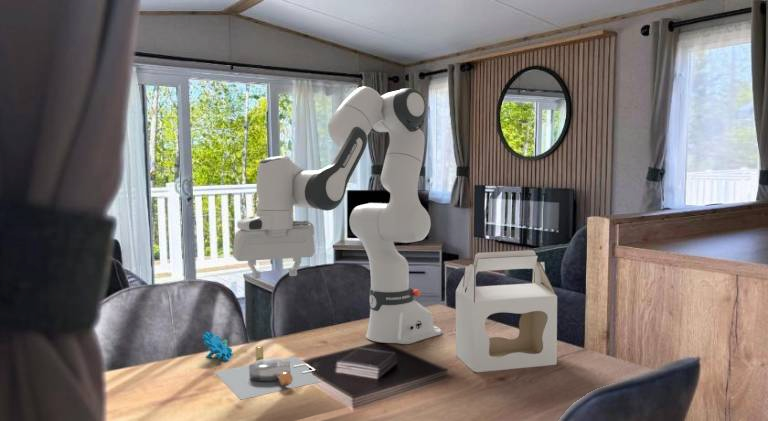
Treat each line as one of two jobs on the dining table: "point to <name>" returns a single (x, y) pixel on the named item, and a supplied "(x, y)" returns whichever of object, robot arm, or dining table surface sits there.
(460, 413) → the dining table surface
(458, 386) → the dining table surface
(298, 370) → the grey square plate
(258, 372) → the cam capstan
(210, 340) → the gear
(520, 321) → the gable box
